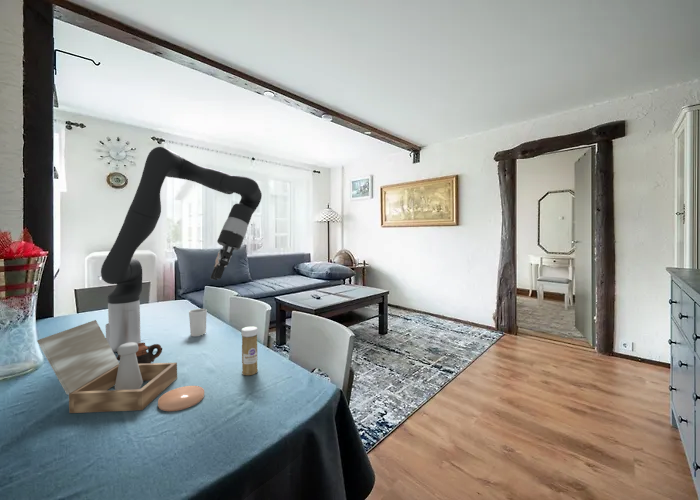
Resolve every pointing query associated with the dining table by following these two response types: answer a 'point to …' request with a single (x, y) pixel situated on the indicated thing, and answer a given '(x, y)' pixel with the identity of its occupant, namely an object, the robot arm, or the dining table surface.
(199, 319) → the drinking glass
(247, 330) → the sprinkles bottle
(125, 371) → the salt shaker
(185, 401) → the terracotta saucer
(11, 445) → the dining table surface
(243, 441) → the dining table surface
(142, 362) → the pottery mug
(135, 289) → the robot arm
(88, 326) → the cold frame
